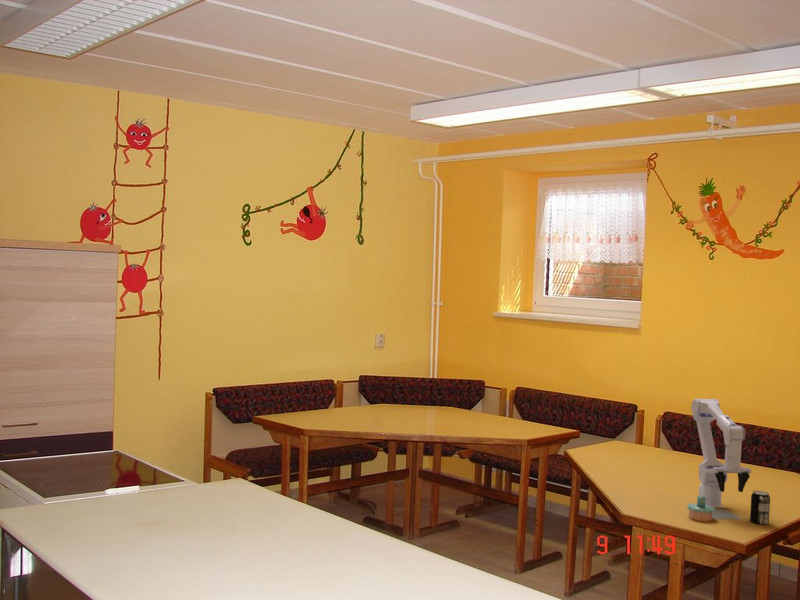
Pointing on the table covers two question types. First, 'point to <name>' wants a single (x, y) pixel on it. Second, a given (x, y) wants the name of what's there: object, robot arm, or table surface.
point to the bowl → (700, 515)
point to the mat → (724, 514)
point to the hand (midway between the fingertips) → (731, 491)
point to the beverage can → (760, 507)
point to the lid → (701, 506)
